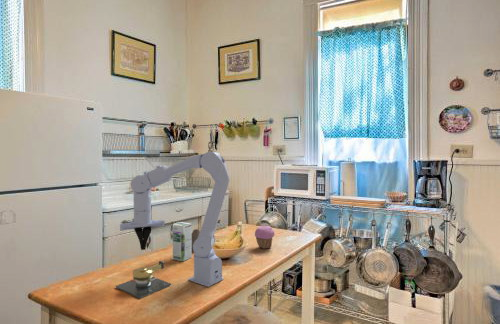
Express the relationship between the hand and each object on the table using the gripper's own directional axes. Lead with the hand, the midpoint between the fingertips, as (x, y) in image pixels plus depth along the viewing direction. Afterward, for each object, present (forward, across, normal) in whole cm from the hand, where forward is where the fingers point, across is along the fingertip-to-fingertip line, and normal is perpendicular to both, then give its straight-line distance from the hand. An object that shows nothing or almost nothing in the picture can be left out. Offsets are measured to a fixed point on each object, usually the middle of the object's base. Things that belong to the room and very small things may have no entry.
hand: (143, 249), depth 114 cm
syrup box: (+11, -17, -15) cm, 25 cm away
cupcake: (+11, -54, -14) cm, 57 cm away
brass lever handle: (+7, -2, +5) cm, 9 cm away
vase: (+11, -25, -24) cm, 37 cm away
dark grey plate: (+10, +1, +7) cm, 12 cm away
